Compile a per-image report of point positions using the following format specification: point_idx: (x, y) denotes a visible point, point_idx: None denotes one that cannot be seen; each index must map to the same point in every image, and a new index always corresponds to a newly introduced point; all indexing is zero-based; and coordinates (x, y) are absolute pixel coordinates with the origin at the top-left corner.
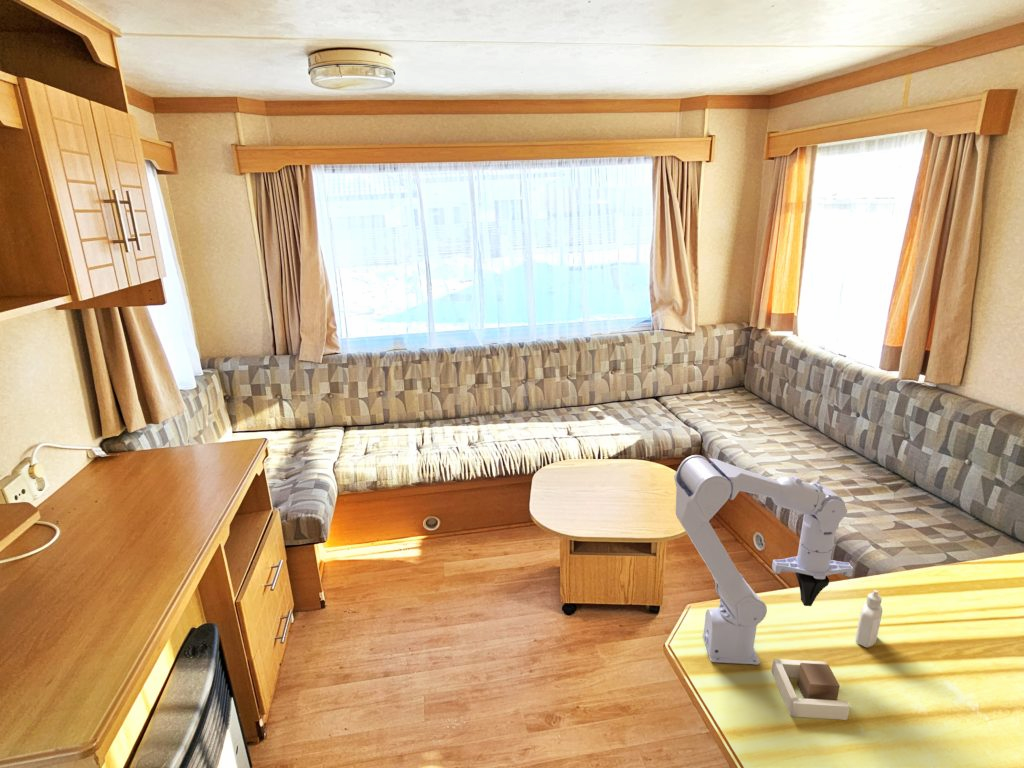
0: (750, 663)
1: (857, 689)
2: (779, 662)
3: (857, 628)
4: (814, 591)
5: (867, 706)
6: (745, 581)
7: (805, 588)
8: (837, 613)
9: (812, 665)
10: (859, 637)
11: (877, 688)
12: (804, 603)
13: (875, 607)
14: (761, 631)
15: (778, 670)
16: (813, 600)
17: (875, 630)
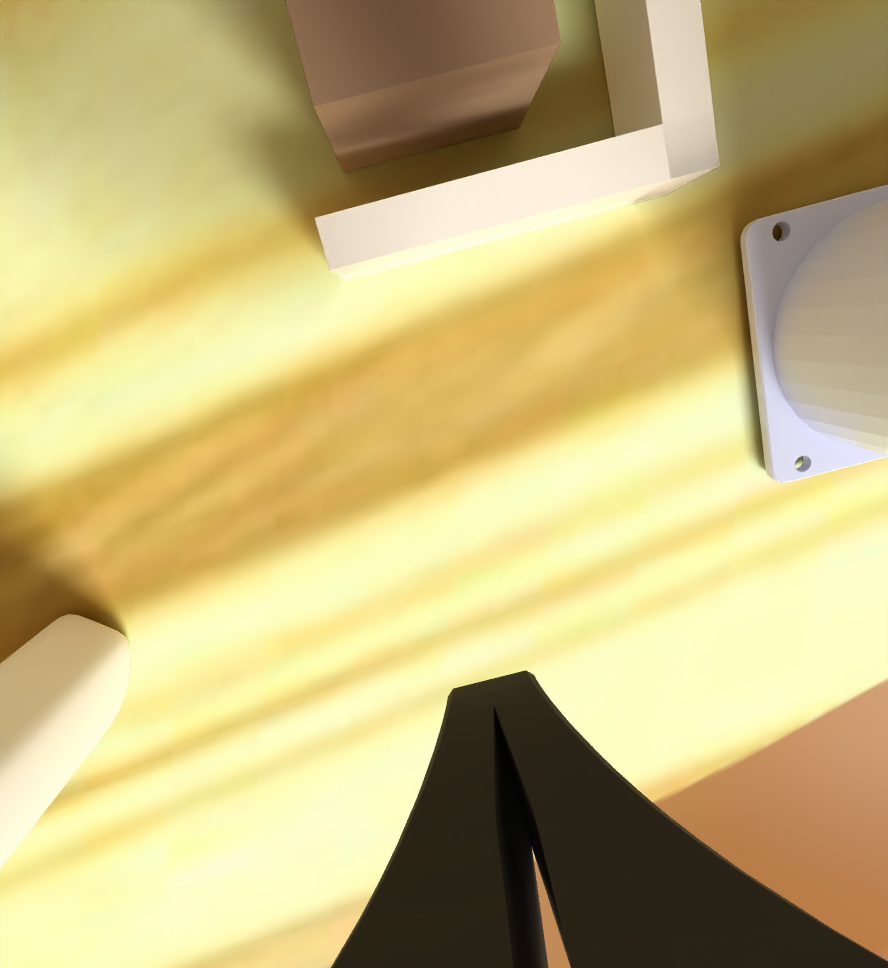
0: (805, 206)
1: (139, 206)
2: (678, 138)
3: (91, 719)
4: (483, 887)
5: (83, 50)
6: None
7: (737, 903)
8: (221, 844)
9: (456, 40)
10: (90, 654)
11: (17, 260)
12: (542, 690)
13: None
14: (672, 556)
15: (703, 27)
16: (447, 742)
17: None
